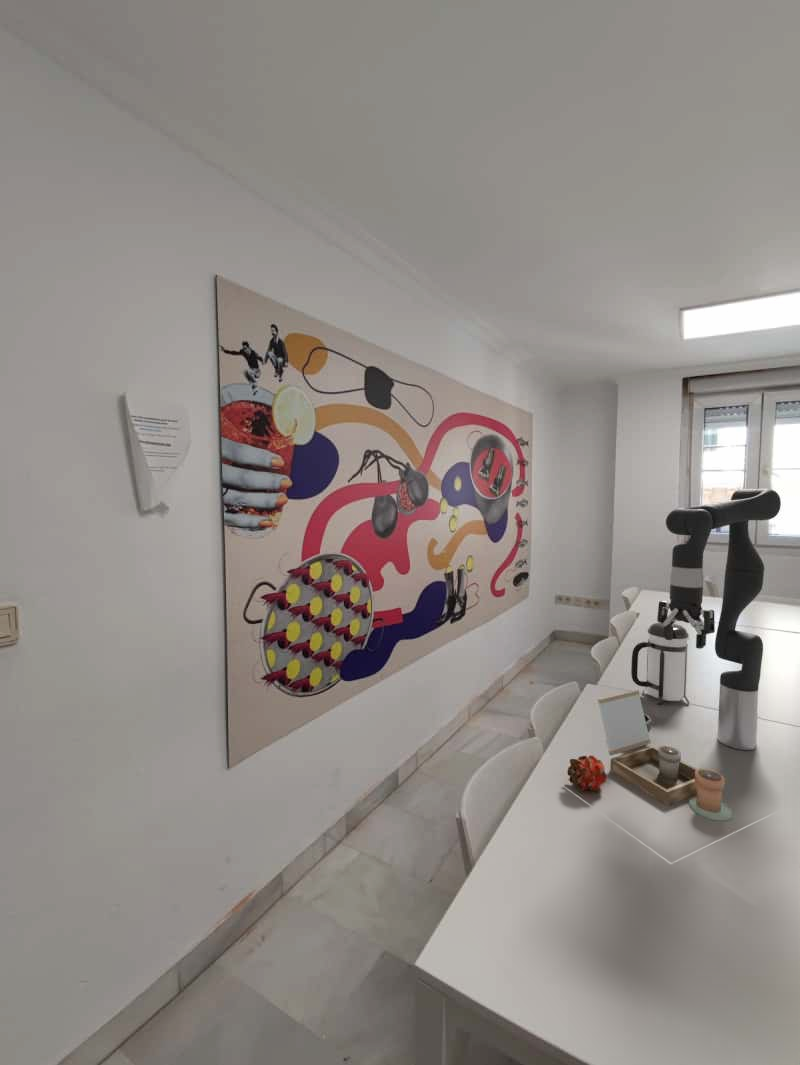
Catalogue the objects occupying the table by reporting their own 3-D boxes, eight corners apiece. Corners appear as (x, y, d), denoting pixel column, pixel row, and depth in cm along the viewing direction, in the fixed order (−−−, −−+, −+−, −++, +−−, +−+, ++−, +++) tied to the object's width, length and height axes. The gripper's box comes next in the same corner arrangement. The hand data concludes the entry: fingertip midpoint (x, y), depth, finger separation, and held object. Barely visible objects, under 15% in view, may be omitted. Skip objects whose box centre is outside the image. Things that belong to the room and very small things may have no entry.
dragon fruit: (570, 802, 115) (593, 789, 124) (600, 794, 111) (622, 781, 119) (554, 765, 119) (577, 755, 128) (582, 755, 115) (604, 746, 123)
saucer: (703, 795, 116) (703, 792, 116) (740, 815, 108) (740, 812, 108) (680, 804, 112) (681, 801, 112) (717, 826, 105) (717, 823, 105)
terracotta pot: (703, 795, 115) (704, 766, 114) (729, 809, 109) (730, 778, 109) (688, 802, 112) (689, 771, 112) (713, 816, 107) (714, 785, 106)
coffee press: (648, 687, 184) (650, 610, 182) (695, 699, 172) (698, 617, 170) (629, 699, 172) (632, 617, 170) (678, 714, 161) (682, 626, 159)
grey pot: (665, 768, 127) (666, 743, 127) (684, 778, 123) (685, 752, 122) (652, 772, 125) (653, 747, 125) (671, 783, 120) (672, 757, 120)
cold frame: (630, 747, 139) (632, 705, 138) (709, 789, 118) (711, 741, 118) (590, 759, 132) (591, 716, 131) (667, 806, 111) (669, 755, 111)
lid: (650, 742, 132) (648, 742, 133) (638, 690, 135) (636, 690, 136) (611, 755, 126) (609, 754, 126) (600, 699, 129) (597, 699, 130)
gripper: (722, 587, 122) (719, 649, 123) (670, 579, 135) (668, 635, 136) (704, 589, 119) (701, 653, 120) (652, 580, 132) (650, 638, 133)
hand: (683, 643), depth 128 cm, fingers open, 8 cm apart
